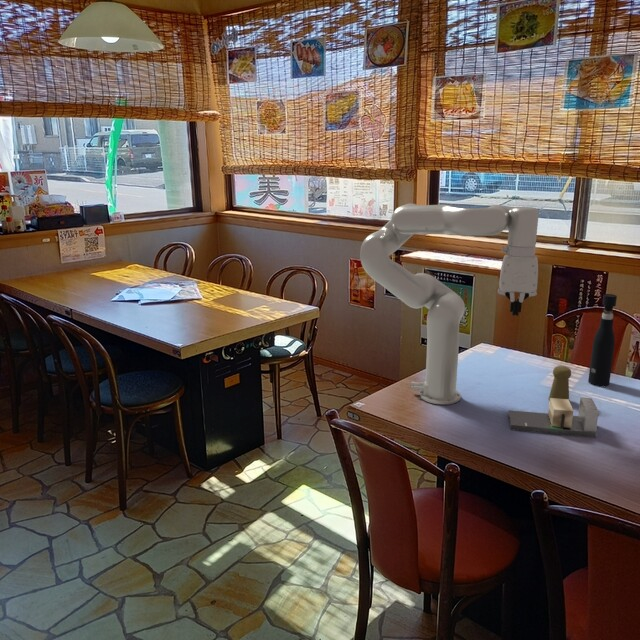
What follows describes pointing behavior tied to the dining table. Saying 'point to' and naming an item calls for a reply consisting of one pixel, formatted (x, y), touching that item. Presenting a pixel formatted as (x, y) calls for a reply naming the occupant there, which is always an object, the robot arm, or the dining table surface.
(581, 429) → the gauge rail
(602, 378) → the black water bottle
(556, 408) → the block
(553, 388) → the olive brown pawn
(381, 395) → the dining table surface
